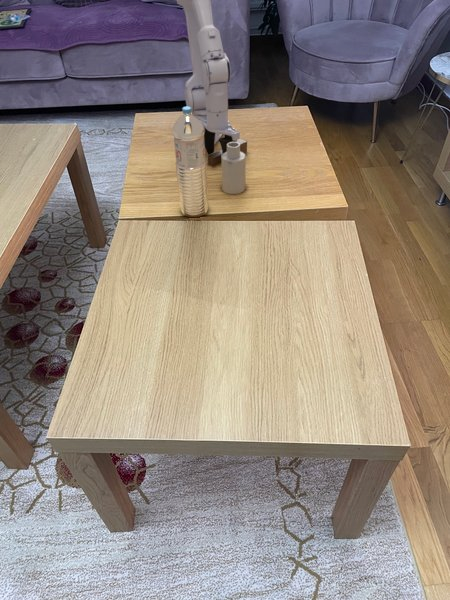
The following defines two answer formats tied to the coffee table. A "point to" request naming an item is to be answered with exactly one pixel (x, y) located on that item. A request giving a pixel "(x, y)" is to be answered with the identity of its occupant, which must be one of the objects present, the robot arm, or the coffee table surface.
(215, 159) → the brush
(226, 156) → the silver bottle
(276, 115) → the coffee table surface
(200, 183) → the water bottle
